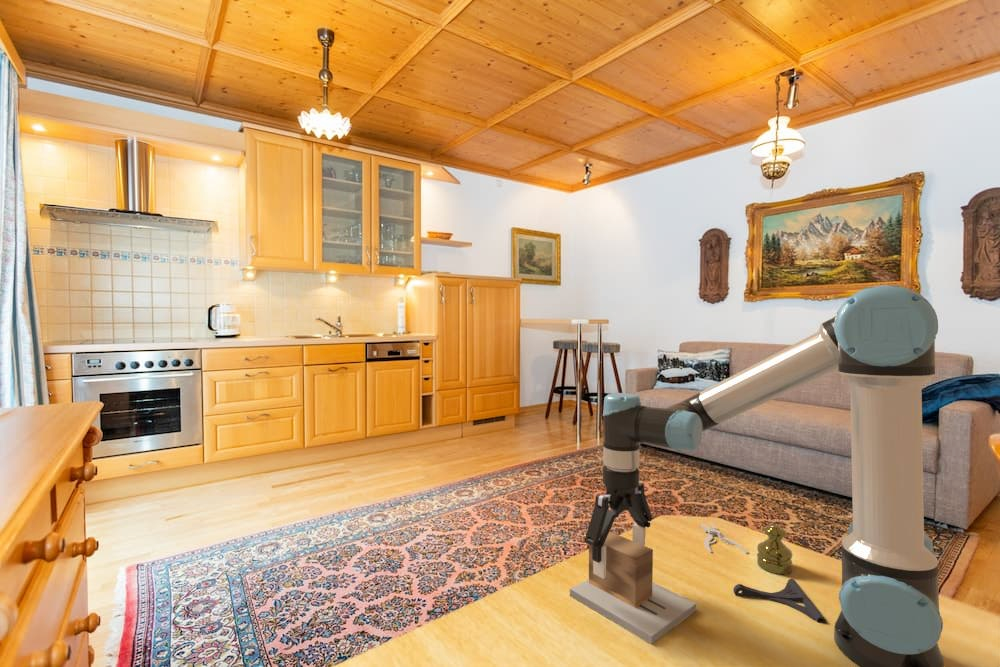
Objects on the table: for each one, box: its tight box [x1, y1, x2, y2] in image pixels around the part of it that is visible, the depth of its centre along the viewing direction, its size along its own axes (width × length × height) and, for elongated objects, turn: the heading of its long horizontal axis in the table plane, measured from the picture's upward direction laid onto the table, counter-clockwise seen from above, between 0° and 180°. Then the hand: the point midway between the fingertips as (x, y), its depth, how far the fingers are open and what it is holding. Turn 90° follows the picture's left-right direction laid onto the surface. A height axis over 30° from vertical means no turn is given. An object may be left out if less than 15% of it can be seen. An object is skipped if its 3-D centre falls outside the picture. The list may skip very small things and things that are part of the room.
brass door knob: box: [756, 524, 794, 575], centre depth 116 cm, size 7×7×10 cm
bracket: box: [733, 578, 827, 624], centre depth 103 cm, size 14×15×3 cm
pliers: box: [700, 522, 749, 555], centre depth 130 cm, size 10×2×15 cm
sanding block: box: [588, 530, 654, 608], centre depth 103 cm, size 12×6×10 cm, turn 40°
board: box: [569, 578, 697, 645], centre depth 101 cm, size 20×16×2 cm
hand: (619, 564), depth 103 cm, fingers open, 13 cm apart
